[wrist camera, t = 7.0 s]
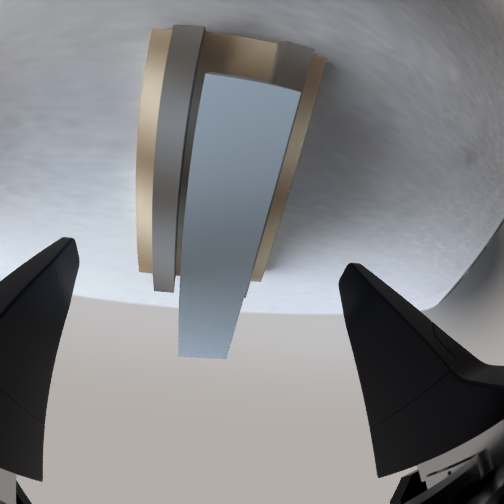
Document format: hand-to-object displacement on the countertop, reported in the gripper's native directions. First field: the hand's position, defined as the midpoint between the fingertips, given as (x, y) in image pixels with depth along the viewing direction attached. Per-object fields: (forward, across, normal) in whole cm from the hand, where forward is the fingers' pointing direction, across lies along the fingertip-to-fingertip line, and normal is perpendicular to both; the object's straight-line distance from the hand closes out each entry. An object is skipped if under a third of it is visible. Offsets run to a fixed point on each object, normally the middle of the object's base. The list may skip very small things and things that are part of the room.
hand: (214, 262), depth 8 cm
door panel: (+6, 0, 0) cm, 7 cm away
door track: (+8, 0, 0) cm, 8 cm away
